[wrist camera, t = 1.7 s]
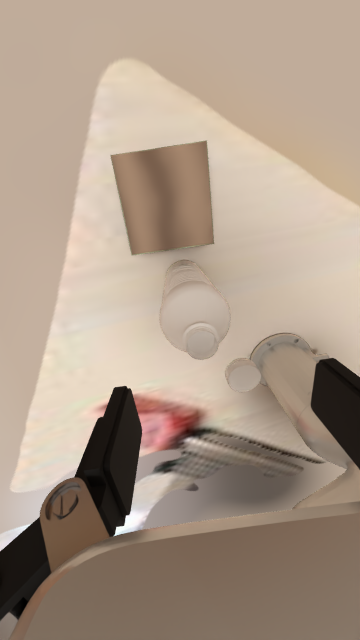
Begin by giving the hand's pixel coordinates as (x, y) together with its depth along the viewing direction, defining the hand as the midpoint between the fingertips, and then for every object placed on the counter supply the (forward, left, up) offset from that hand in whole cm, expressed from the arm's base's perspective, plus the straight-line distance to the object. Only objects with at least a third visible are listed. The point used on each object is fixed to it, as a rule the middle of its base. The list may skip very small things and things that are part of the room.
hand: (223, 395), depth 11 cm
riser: (+2, -12, -29) cm, 32 cm away
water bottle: (0, 0, -29) cm, 29 cm away
